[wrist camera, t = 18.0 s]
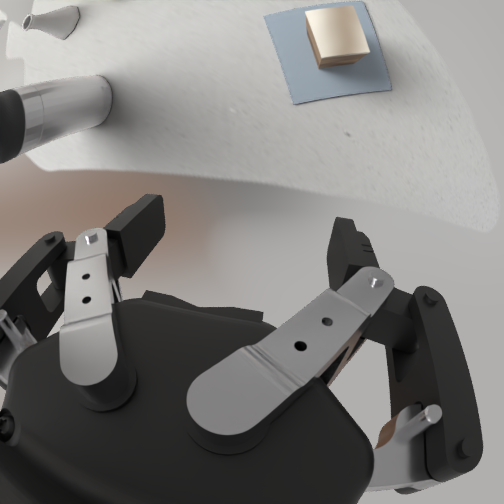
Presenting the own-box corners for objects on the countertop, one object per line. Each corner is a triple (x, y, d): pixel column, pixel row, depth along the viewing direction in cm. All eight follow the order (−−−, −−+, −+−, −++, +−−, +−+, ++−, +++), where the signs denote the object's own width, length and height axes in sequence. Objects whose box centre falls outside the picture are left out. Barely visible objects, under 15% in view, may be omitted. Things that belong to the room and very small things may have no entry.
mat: (293, 104, 30) (293, 104, 30) (263, 17, 24) (263, 16, 24) (391, 89, 26) (392, 89, 26) (361, 1, 20) (362, 0, 20)
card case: (318, 68, 27) (321, 57, 18) (306, 34, 24) (305, 11, 16) (353, 63, 25) (370, 52, 17) (341, 29, 23) (353, 5, 15)
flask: (71, 0, 22) (31, -3, 14) (85, 14, 24) (43, 11, 16) (51, 30, 25) (12, 32, 17) (64, 45, 28) (22, 48, 19)
